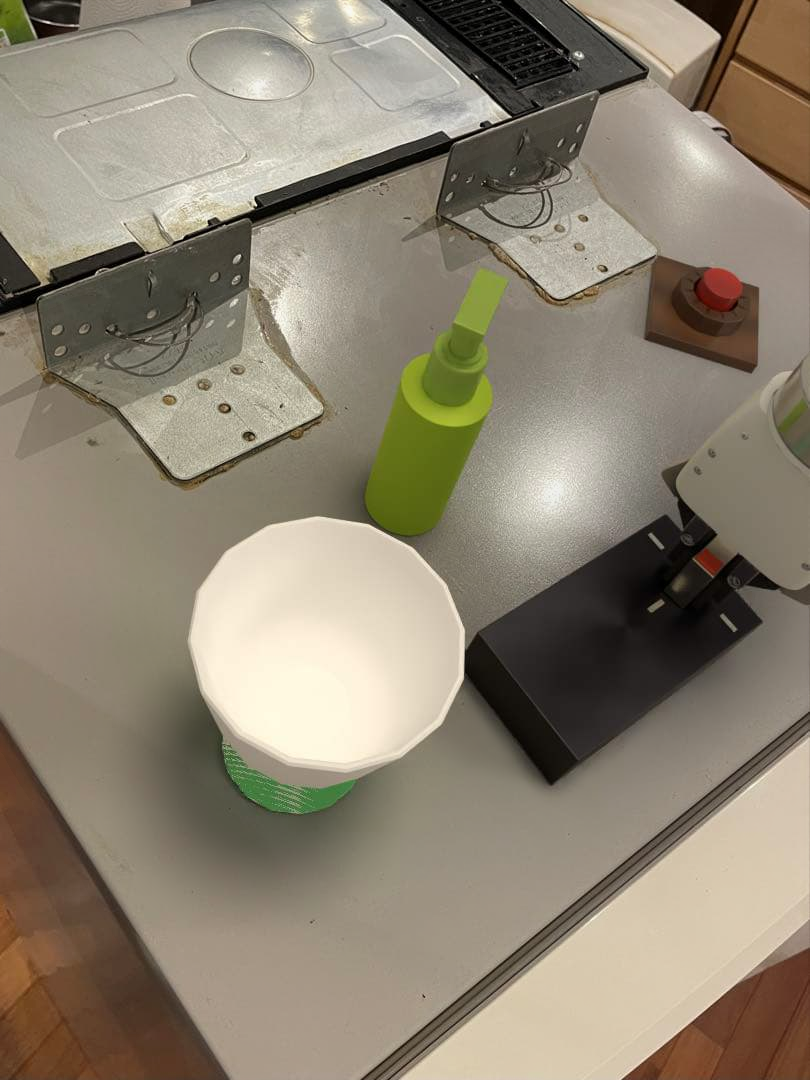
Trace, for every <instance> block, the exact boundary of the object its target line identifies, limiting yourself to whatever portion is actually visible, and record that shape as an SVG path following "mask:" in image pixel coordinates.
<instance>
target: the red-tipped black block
mask: <svg viewBox="0 0 810 1080" xmlns="http://www.w3.org/2000/svg"><path fill="white" fill-rule="evenodd" d="M716 534H717V535H716V536H715V537H714V538H713V539H712V540H711V541H710V542H709V543H708V544H707V545H706V546H705V547H704V548H703V549H702V550H701V551H700V552H699V553H697V554H696V555H695V556H694V557H693V558H692V559H691V560H690V561H689V563H688V564H687V565H686V566H685V567H684V568H683V569H682V570H681V571H680V572H679V573H678V574H677V576H676V577H675V578H674V579H673V580H672V581H671V582H670V583H669V584H668V585H667V586H666V587H665V589H664V590H663V591H664V592H665V593H666V594H667V595H668V596H669V597H670V598H672V599H673V600H674V601H675V602H676V603H677V604H678V605H679V606H680V607H681V608H684V607H685V606H686V605H687V604H688V603H690V602H691V600H692V599H693V598H694V597H695V596H696V595H697V594H698V593H699V592H700V591H701V590H702V589H703V588H704V587H705V586H706V585H707V584H708V583H709V582H710V581H711V580H712V579H713V578H714V577H715V576H716V575H717V574H718V573H719V572H720V571H721V570H722V569H723V568H724V567H725V566H726V565H728V564H729V563H730V562H731V561H732V560H733V559H734V558H735V557H736V556H737V555H738V554H740V553H739V552H738V551H737V550H735V549H734V548H733V547H732V546H731V545H730V544H729V543H728V542H727V541H725V540H724V539H723V538H722V537H721V536H720V535H719V534H718V533H716Z"/></svg>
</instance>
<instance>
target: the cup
mask: <svg viewBox="0 0 810 1080" xmlns="http://www.w3.org/2000/svg"><path fill="white" fill-rule="evenodd" d="M186 641H187V645H188V649H189V653H190V657H191V660H192V664H193V668H194V672H195V676H196V680H197V684H198V688H199V691H200V694H201V697H202V698H203V699H204V702H205V704H206V706H207V708H208V710H209V712H210V713H211V715H212V717H213V720H214V721H215V724H216V725H217V727H218V729H219V731H220V733H221V736H222V737H223V736H224V737H225V738H226V740H227V741H228V742H229V744H230V745H226V744H222V743H221V744H222V746H224V747H226V746H228V747H230V748H232V747H233V749H234V750H235V751H233V750H226V749H223V753H222V755H223V754H225V753H228V752H230V753H232V754H235V753H237V754H238V755H239V756H240V757H239V756H233V755H231V754H230V753H228V754H230V755H226V754H225V755H224V757H223V760H224V759H226V758H228V759H230V760H227V759H226V764H225V766H226V765H227V768H226V772H227V771H229V775H230V776H229V775H228V776H229V778H230V777H233V779H234V781H233V783H234V782H235V783H236V784H238V786H239V788H240V789H239V788H238V789H239V791H240V792H241V791H243V792H244V794H245V795H244V794H243V795H244V797H245V796H246V797H247V798H246V797H245V798H246V799H248V797H250V798H252V799H254V800H255V801H257V802H258V803H259V804H261V805H262V806H261V805H260V806H261V807H263V806H264V807H266V808H267V809H266V808H265V809H266V810H268V809H269V810H268V811H270V810H271V811H270V812H272V810H274V811H278V812H277V813H279V812H281V811H282V812H294V810H293V811H291V810H292V809H295V810H297V811H299V812H301V813H300V814H302V813H303V815H305V814H304V813H305V812H307V811H308V812H310V813H313V812H312V811H313V810H317V811H320V810H319V809H321V810H324V809H327V808H330V807H331V806H333V805H334V804H335V803H336V802H337V801H339V800H340V799H342V798H343V796H342V795H344V794H345V795H346V794H347V793H349V792H350V791H351V790H352V789H353V788H354V785H355V783H356V782H357V779H360V778H362V777H364V776H366V775H368V774H370V773H372V772H374V771H376V770H378V769H381V768H382V767H384V766H387V765H389V764H391V763H393V762H395V761H397V760H399V759H401V758H403V756H405V755H406V754H407V753H408V752H410V751H411V750H412V749H413V748H414V747H416V746H417V745H418V744H419V743H421V742H422V741H423V740H424V739H426V738H427V737H428V736H429V735H430V734H432V733H433V732H434V731H435V730H436V729H438V728H439V727H440V726H441V725H442V724H443V722H444V721H445V718H446V716H447V714H448V713H449V711H450V708H451V706H452V705H453V702H454V700H455V698H456V696H457V694H458V692H459V690H460V688H461V686H462V684H463V682H464V680H465V673H464V653H465V648H466V647H465V644H466V643H465V641H466V629H465V627H464V625H463V622H462V619H461V617H460V614H459V611H458V609H457V607H456V604H455V601H454V600H453V597H452V594H451V591H450V588H449V587H448V584H447V583H446V582H445V580H444V579H442V578H441V576H440V575H439V574H438V573H437V572H436V571H435V570H434V568H432V567H431V566H430V565H429V564H428V562H427V561H426V560H425V559H424V558H423V557H422V556H421V555H420V554H419V553H418V552H417V550H416V549H415V548H414V547H412V546H410V545H408V544H406V543H405V542H403V541H401V540H399V539H398V538H395V537H393V536H391V535H389V534H388V533H386V532H384V531H382V530H380V529H378V528H376V527H374V526H373V525H371V524H369V523H364V522H359V521H358V522H357V521H352V520H351V521H350V520H345V519H338V518H332V517H325V516H319V515H316V516H311V517H306V518H300V519H293V520H289V521H284V522H278V523H273V524H268V525H266V526H264V527H263V528H261V529H260V530H257V531H256V532H254V533H252V534H250V536H248V537H247V538H245V539H243V540H242V541H239V542H238V543H237V544H235V545H234V546H232V547H230V548H228V549H227V550H225V551H224V553H223V554H222V555H221V557H220V558H219V560H218V561H217V562H216V564H215V565H214V567H212V569H211V571H210V572H209V574H208V575H207V576H206V577H205V579H204V581H203V582H202V584H201V585H200V586H199V588H198V589H197V590H196V593H195V597H194V605H193V610H192V615H191V621H190V626H189V631H188V636H187V640H186ZM223 741H224V740H223ZM225 742H226V741H225ZM225 745H226V746H225ZM231 746H232V747H231ZM228 747H227V748H228ZM222 748H223V747H222ZM227 751H228V752H227ZM224 752H225V753H224ZM233 752H234V753H233ZM235 755H236V754H235ZM231 758H232V759H235V760H237V759H239V760H241V761H244V762H245V763H243V762H238V760H237V761H232V759H231ZM236 758H237V759H236ZM228 764H230V765H233V764H235V765H238V764H239V765H238V766H240V765H242V766H245V765H246V766H245V767H247V766H249V767H251V768H253V769H255V770H251V769H247V768H248V767H247V768H242V767H236V766H235V765H233V766H230V765H228ZM231 770H233V771H231ZM236 770H238V771H241V770H242V771H241V772H243V771H245V772H247V773H250V772H251V773H253V774H255V775H258V774H260V775H262V776H265V777H267V778H269V779H271V780H269V779H266V778H262V776H261V777H258V776H260V775H258V776H254V775H253V774H252V775H249V774H246V773H244V772H243V773H240V772H237V771H236ZM234 771H236V772H234ZM251 773H250V774H251ZM257 773H258V774H257ZM232 775H233V776H232ZM237 775H238V776H237ZM234 776H236V777H234ZM239 776H240V777H243V778H245V779H242V778H240V777H239ZM237 777H239V778H237ZM247 778H248V779H247ZM249 779H251V780H249ZM252 780H253V781H252ZM256 780H258V781H260V782H263V783H260V782H258V781H256ZM273 780H274V781H273ZM237 782H238V783H237ZM266 782H267V783H269V784H271V785H274V786H278V785H280V786H282V787H285V788H287V789H290V790H293V789H295V790H297V791H295V790H293V791H295V792H298V791H299V792H298V793H300V792H301V793H300V794H301V795H303V796H305V797H307V798H309V799H311V800H309V799H307V798H304V797H302V796H300V795H297V794H294V793H292V792H289V791H286V790H283V789H280V788H277V787H274V786H271V785H269V784H267V783H266ZM235 783H234V784H235ZM239 783H240V784H239ZM264 783H265V784H264ZM236 784H235V785H236ZM245 784H246V785H245ZM288 785H292V786H299V787H301V788H302V789H304V790H306V791H308V792H307V793H306V791H305V792H304V790H303V791H302V790H299V789H296V788H294V787H291V786H288ZM238 786H237V787H238ZM254 786H255V787H254ZM257 787H258V788H257ZM278 787H279V786H278ZM308 787H309V788H308ZM263 788H265V789H267V790H265V789H263ZM291 788H292V789H291ZM311 788H312V789H311ZM242 789H243V790H242ZM313 789H314V790H313ZM268 790H269V791H268ZM273 790H274V791H273ZM315 790H316V791H315ZM349 790H350V791H349ZM250 791H251V792H250ZM271 791H272V792H271ZM275 791H278V792H281V793H283V794H286V793H288V794H286V795H289V794H290V795H289V796H291V795H294V796H296V797H298V798H300V799H301V800H300V799H299V800H300V801H302V802H304V803H306V804H304V803H302V802H300V801H297V800H295V799H292V798H289V797H287V796H284V795H281V794H278V793H277V792H276V793H275ZM317 791H318V792H317ZM284 792H285V793H284ZM309 792H310V793H309ZM260 793H261V794H264V795H261V794H260ZM265 795H266V796H265ZM269 795H270V796H269ZM345 795H344V796H345ZM271 796H273V797H277V798H279V799H282V798H283V799H282V800H284V799H286V800H284V801H287V800H289V801H292V802H294V803H297V804H299V805H300V806H299V807H301V806H302V807H301V808H299V807H297V806H298V805H297V806H294V805H292V804H289V803H287V802H289V801H287V802H284V801H281V800H278V799H275V798H273V797H271ZM278 796H279V797H278ZM280 797H281V798H280ZM292 797H293V796H292ZM250 798H249V799H248V800H250ZM298 798H297V799H298ZM252 799H251V800H250V801H252ZM258 799H259V800H258ZM338 799H339V800H338ZM261 800H262V801H261ZM312 800H313V801H312ZM272 803H273V804H272ZM278 803H279V804H278ZM290 803H291V802H290ZM333 803H334V804H333ZM259 804H258V805H259ZM275 804H277V805H275ZM280 804H282V805H280ZM307 804H308V805H307ZM278 805H280V806H278ZM283 805H284V806H283ZM295 805H296V804H295ZM309 805H310V806H309ZM281 806H282V807H281ZM285 806H286V807H285ZM311 806H312V807H311ZM264 807H263V808H264ZM283 807H285V808H283ZM287 807H289V808H292V809H290V810H289V808H287ZM313 807H314V808H313ZM326 807H327V808H326ZM286 808H287V809H286ZM323 808H324V809H323ZM279 810H280V811H279ZM297 811H296V812H297ZM299 812H298V813H299ZM308 812H307V814H309V813H308Z"/></svg>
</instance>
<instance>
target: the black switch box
mask: <svg viewBox="0 0 810 1080" xmlns="http://www.w3.org/2000/svg"><path fill="white" fill-rule="evenodd" d="M681 532H682V530H681V528H680V527H679V526H678V525H677V524H676V523H675V521H673V519H671V517H670V516H669V515H668V514H667V513H664V514H663V515H661V516H660V517H658V518H657V519H655V520H654V521H652V522H650V523H648V524H646V525H645V526H644V527H642V528H640V529H639V530H637V531H636V532H634V533H633V534H630V536H628V537H626V538H624V539H623V540H622V541H620V542H618V543H617V544H615V545H614V546H612V547H610V548H609V549H607V550H605V551H604V552H602V553H601V554H600V555H597V556H596V557H595V558H593V559H591V560H589V561H588V562H587V563H585V564H582V566H580V567H579V568H577V569H575V570H574V571H572V572H570V573H569V574H567V575H566V576H564V577H562V578H560V580H558V581H556V582H554V583H553V584H552V585H550V586H548V587H547V588H545V589H543V590H542V591H540V592H539V593H537V594H536V595H534V596H532V597H531V598H529V599H528V600H526V601H524V602H522V603H521V604H520V605H518V606H517V607H515V608H513V609H512V610H510V611H508V612H507V613H505V614H503V615H502V616H501V617H499V618H497V619H496V620H494V621H492V622H491V623H489V624H487V625H486V626H484V627H483V628H481V629H480V630H478V631H477V632H476V634H475V635H474V637H473V638H472V640H471V642H470V643H469V644H468V646H467V648H466V649H465V650H464V675H466V677H467V676H468V677H467V679H469V680H470V682H471V683H472V684H473V686H474V687H475V688H476V690H477V689H478V690H477V691H478V692H479V693H480V695H481V696H482V698H483V699H484V700H485V701H486V703H487V704H488V705H489V707H490V708H491V709H492V711H493V712H494V713H495V715H496V716H497V717H498V718H499V720H500V721H501V722H502V724H503V725H504V726H505V727H506V729H507V730H508V731H509V733H510V735H512V737H513V738H514V740H515V741H516V742H517V743H518V745H519V746H520V747H521V748H522V750H523V751H524V753H526V755H527V756H528V757H529V759H530V760H531V762H532V763H533V764H534V765H535V767H536V768H537V769H538V770H539V773H541V775H542V777H543V778H544V779H545V780H546V781H547V783H548V784H549V785H550V786H553V785H554V784H556V783H558V781H561V780H562V778H564V777H565V776H567V775H568V774H569V773H570V772H572V771H573V770H575V769H576V768H577V767H579V766H580V765H581V764H582V763H584V762H585V761H586V760H588V759H589V758H591V757H592V756H593V755H594V754H596V753H597V752H599V751H600V750H601V749H602V748H604V747H605V746H607V744H608V743H610V742H612V741H613V740H614V739H616V738H617V737H618V736H620V735H621V734H622V733H624V732H625V731H626V730H628V729H629V728H630V727H632V726H633V725H634V724H635V723H637V722H638V721H640V720H641V719H642V718H644V717H645V716H646V715H647V714H649V713H650V712H651V711H653V710H654V709H655V708H657V707H658V706H659V705H661V704H662V703H664V702H665V701H666V700H667V699H669V698H670V697H671V696H672V695H674V694H675V693H677V692H678V691H679V690H680V689H682V688H683V687H684V686H686V685H687V684H689V683H690V682H691V681H692V680H694V679H695V678H696V677H697V676H699V675H700V674H702V673H703V672H704V671H706V670H707V669H708V668H709V667H711V666H712V665H713V664H715V663H717V661H719V660H720V659H721V658H723V657H725V655H727V654H728V653H729V652H731V650H733V649H734V648H735V647H737V646H738V645H739V644H740V643H741V642H742V641H744V640H745V639H746V638H747V637H749V635H750V634H752V633H753V632H754V631H755V630H756V629H758V628H759V627H760V626H761V625H762V624H763V623H764V621H763V619H762V618H761V617H760V616H759V614H757V613H756V612H755V610H754V609H753V608H752V607H751V606H750V605H749V604H748V602H746V601H745V600H744V599H743V597H742V596H741V594H739V592H737V591H736V589H734V590H733V591H732V592H731V593H730V594H728V595H727V596H726V597H725V598H724V599H723V600H722V601H721V602H720V603H719V604H717V603H716V602H715V601H714V600H713V599H712V598H709V599H708V600H707V601H706V602H705V603H704V604H703V605H702V606H701V607H700V608H699V609H698V610H697V609H695V608H694V607H693V606H692V604H693V603H692V602H690V603H688V604H687V605H686V606H685V607H684V608H681V607H680V606H679V605H678V604H677V603H676V602H675V601H674V600H673V599H672V598H670V597H669V596H668V595H667V594H666V593H665V592H664V591H663V590H664V589H665V587H666V586H667V585H668V584H669V583H670V582H669V581H668V582H666V581H665V580H664V579H663V578H662V576H663V575H664V574H665V573H666V572H667V571H668V569H669V568H670V567H671V566H672V565H673V564H674V563H672V562H671V561H670V560H669V559H668V558H667V556H668V555H669V554H670V552H671V551H672V550H673V549H674V548H675V547H676V546H677V544H678V543H679V542H680V541H681V539H680V533H681Z"/></svg>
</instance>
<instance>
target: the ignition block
mask: <svg viewBox="0 0 810 1080" xmlns="http://www.w3.org/2000/svg"><path fill="white" fill-rule="evenodd" d="M712 268H713V267H711V266H699V267H698V266H694V265H691V264H688V263H685V262H681V261H678V260H675V259H672V258H669V257H666V256H663V255H660V254H657V256H656V257H655V259H654V261H653V262H652V267H651V275H650V286H649V294H648V296H649V297H648V304H647V314H646V323H645V332H644V333H645V334H644V340H645V341H648V342H651V343H653V344H656V345H660V346H663V347H666V348H670V349H673V350H676V351H679V352H682V353H686V354H689V355H692V356H695V357H698V358H701V359H704V360H707V361H711V362H714V363H717V364H720V365H724V366H727V367H730V368H732V369H737V370H739V371H742V372H744V373H745V372H746V373H748V374H752V373H753V372H754V371H755V369H756V368H757V367H758V366H759V325H760V324H759V323H760V322H759V321H760V320H759V319H760V318H759V317H760V314H759V313H760V287H759V286H756V285H754V284H750V283H746V282H744V281H741V280H740V282H741V284H742V293H741V295H740V297H739V298H738V299H737V301H736V302H735V304H734V305H733V307H732V308H731V309H730V310H728V311H725V312H719V311H716V310H713V309H710V308H708V307H707V306H705V305H704V304H703V303H702V302H700V301H699V300H698V298H697V296H696V293H695V290H696V286H697V285H698V283H699V282H700V280H701V279H702V277H703V275H704V274H705V272H706V271H708V270H709V269H712Z"/></svg>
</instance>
